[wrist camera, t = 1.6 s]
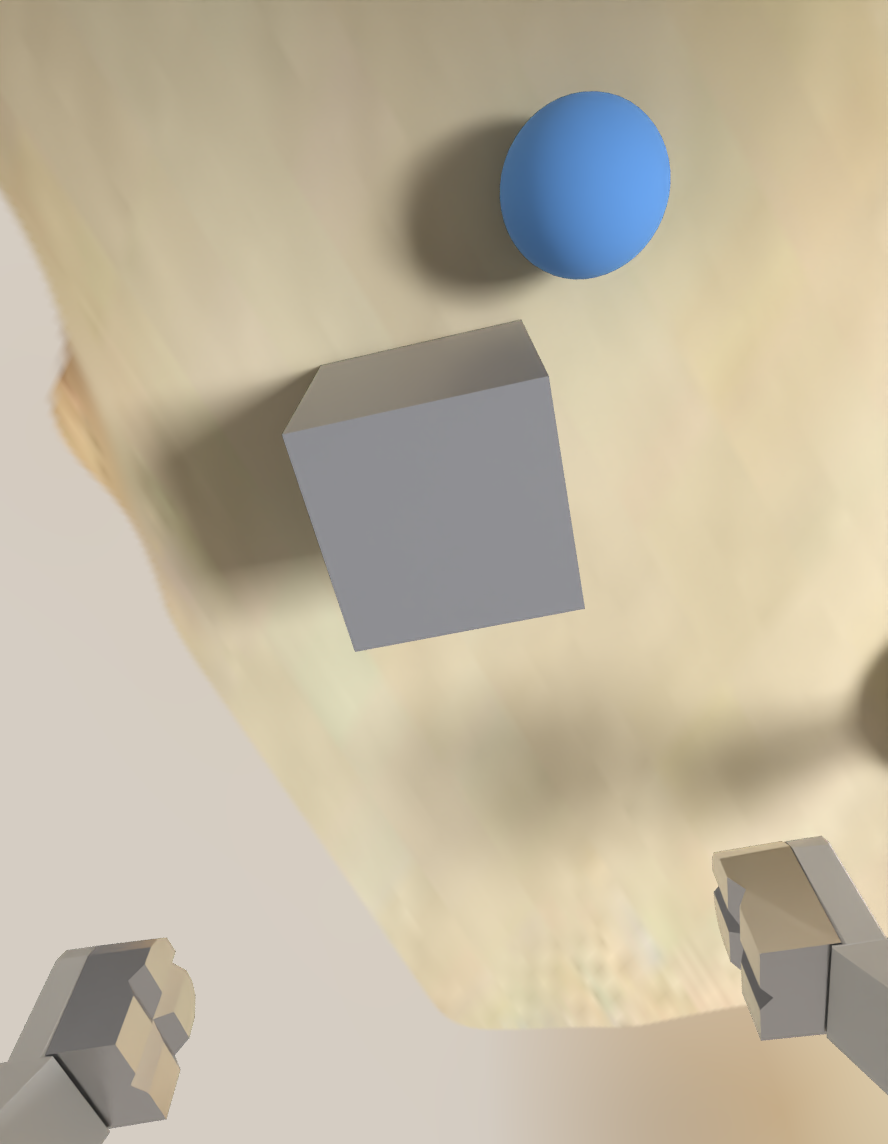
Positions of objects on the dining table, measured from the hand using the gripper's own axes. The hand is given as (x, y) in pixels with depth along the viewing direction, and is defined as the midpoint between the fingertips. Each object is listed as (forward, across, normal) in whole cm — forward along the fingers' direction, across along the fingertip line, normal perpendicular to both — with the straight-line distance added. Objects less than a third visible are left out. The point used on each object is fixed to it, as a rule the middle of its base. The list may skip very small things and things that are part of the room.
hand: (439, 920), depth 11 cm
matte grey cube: (+21, 0, -1) cm, 21 cm away
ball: (+18, -6, -8) cm, 21 cm away
